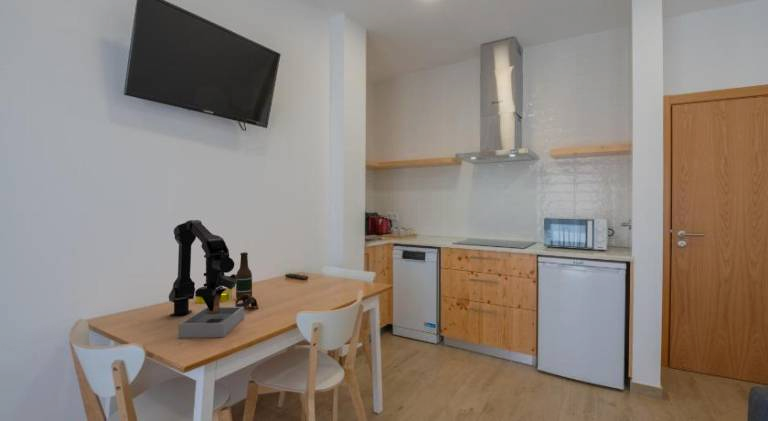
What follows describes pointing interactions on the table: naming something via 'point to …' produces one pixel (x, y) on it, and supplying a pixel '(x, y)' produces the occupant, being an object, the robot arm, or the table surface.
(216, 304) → the peg
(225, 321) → the socket box
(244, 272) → the beer bottle
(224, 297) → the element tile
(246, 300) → the dark brown openwork arch
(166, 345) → the table surface
